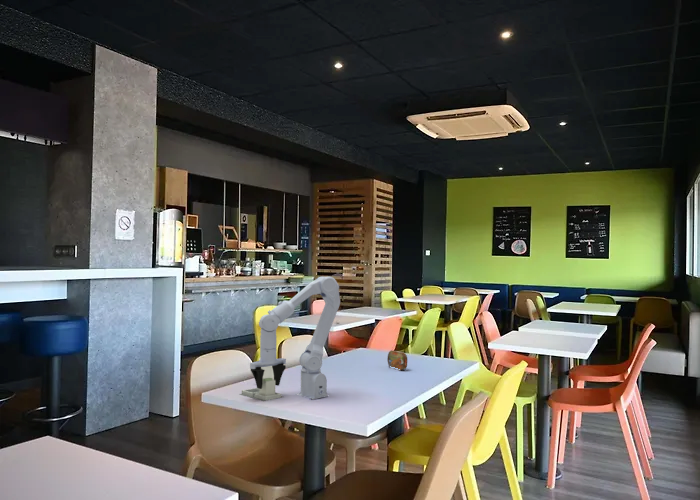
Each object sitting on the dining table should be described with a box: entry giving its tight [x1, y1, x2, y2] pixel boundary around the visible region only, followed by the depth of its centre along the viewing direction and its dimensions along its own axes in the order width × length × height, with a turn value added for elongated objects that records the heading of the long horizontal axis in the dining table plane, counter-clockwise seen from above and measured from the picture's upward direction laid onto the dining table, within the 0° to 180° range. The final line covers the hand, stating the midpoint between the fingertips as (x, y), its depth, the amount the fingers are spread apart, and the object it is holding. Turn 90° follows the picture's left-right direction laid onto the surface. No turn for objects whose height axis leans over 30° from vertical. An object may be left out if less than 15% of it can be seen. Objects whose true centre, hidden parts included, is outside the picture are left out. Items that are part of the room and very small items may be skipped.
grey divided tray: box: [238, 387, 284, 402], centre depth 196 cm, size 15×9×2 cm, turn 46°
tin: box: [387, 350, 408, 371], centre depth 257 cm, size 15×3×8 cm, turn 25°
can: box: [258, 358, 274, 380], centre depth 217 cm, size 6×6×12 cm
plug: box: [259, 378, 276, 396], centre depth 194 cm, size 4×4×7 cm
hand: (268, 386), depth 194 cm, fingers open, 7 cm apart
